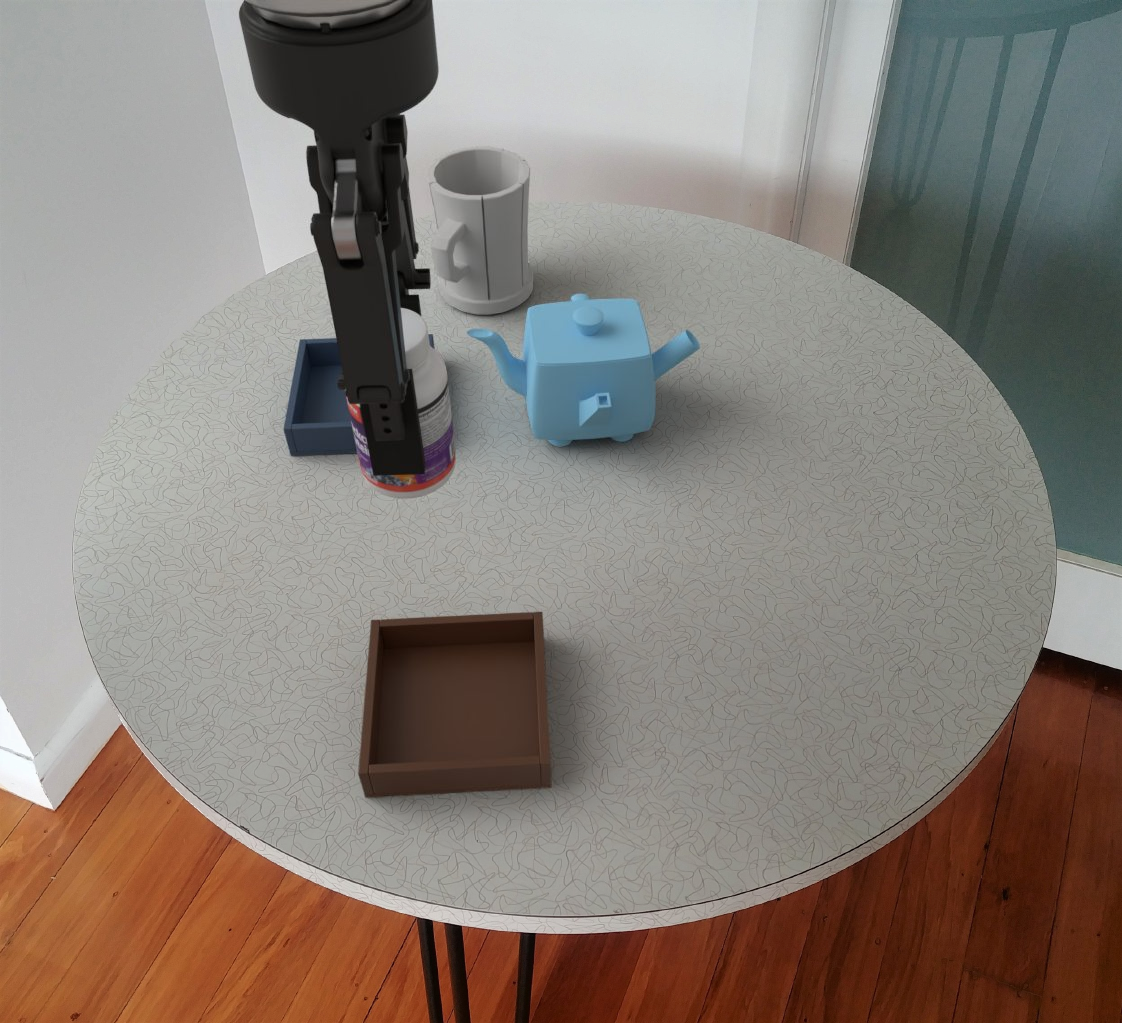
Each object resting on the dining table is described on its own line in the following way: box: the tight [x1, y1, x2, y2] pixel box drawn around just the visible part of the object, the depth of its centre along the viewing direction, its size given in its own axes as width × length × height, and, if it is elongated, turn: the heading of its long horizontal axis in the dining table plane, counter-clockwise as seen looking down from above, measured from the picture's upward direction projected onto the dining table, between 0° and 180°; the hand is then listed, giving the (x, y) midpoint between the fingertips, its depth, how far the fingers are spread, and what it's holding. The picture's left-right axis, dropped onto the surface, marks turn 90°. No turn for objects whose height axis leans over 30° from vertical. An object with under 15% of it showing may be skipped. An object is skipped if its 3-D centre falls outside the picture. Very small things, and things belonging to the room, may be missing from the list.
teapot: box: [466, 293, 701, 448], centre depth 83 cm, size 18×14×10 cm
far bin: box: [283, 333, 436, 457], centre depth 87 cm, size 11×11×3 cm
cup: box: [425, 145, 534, 316], centre depth 94 cm, size 10×9×12 cm
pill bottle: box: [346, 308, 457, 500], centre depth 57 cm, size 5×5×10 cm
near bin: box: [357, 611, 552, 799], centre depth 66 cm, size 11×11×3 cm
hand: (403, 430), depth 58 cm, fingers closed on pill bottle, 5 cm apart
